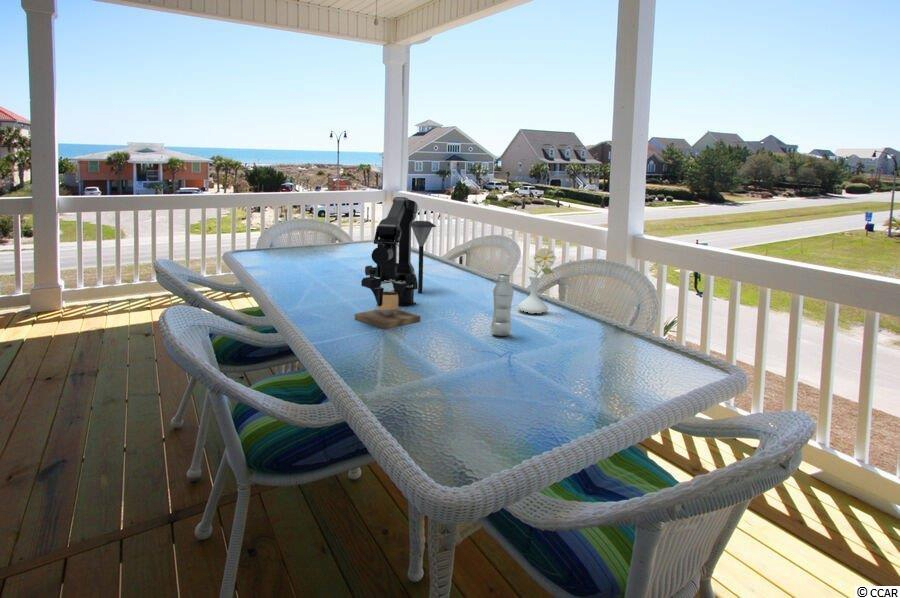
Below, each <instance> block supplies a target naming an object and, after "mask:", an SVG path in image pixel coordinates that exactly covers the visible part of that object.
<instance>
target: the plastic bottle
mask: <svg viewBox="0 0 900 598" xmlns="http://www.w3.org/2000/svg"><path fill="white" fill-rule="evenodd" d="M510 281H511V274H507V273H499V274H498V275H497V284H495V286H494V287H493V290H492V291H493V292H492V295H493V312H492V313H493V315H492V320H491V325H490V332H491V334H492V335H493V336H498V337H506V336H509V335H510V334H511V331H512V321H511V319H512V318H511V317H512V316H511V315H512V314H511V311H512V309H511V308H512V302H513V299H514V298H513V297H514V293H515V291H514V288H513V286H512V284H511V283H510Z"/></svg>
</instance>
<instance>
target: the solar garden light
mask: <svg viewBox="0 0 900 598" xmlns="http://www.w3.org/2000/svg"><path fill="white" fill-rule="evenodd" d="M436 227H437V225H436V224H434V223H433V222H431V221H429V220H414V221H413V222H412V224H411V230H412V232H413V234H414V237H415V239H416V242H417V245H418V272H417V273H418V276H417V277H418V278H417V283H418V289H417V293H418V294H423V285H424V284H423V283H424V282H423V281H424V276H423V275H424V246H425V243H426V242H427V239H428V237H429V235H430V233H431V231H432V229H433V228H436Z"/></svg>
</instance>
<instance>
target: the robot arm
mask: <svg viewBox="0 0 900 598" xmlns="http://www.w3.org/2000/svg"><path fill="white" fill-rule="evenodd" d="M418 207H419V206H418V204H417V202H416V201H414V200H411V199H409V198H408V197H405V196H395V197H393V200H392V204H391V207H390V209H389V212H388V213H387V216H386V218H383V219H381V220H380V221H379V223H378V225H376V229H375V234H374V238H373V245H377V247H376V248H374V249H373V251H372V252H371V260H372V261H373V263H375V264H376V266H375V267H373V266H372V265H366V266H365V267H364V274H365V276H366V277H363V278H362V279H361V281H360V282H361V287H364V288H367V289H369V290H370V291H371V292H372V294H373V296H374V298H375V301H376V306H377V305H378V306H381V303H382V297H383V291H385V290H384V287H382V284H389V283H391V284H392V289H393V292H397V293H398V306H402V307H407V306H412V305H416V304H417V302H416V301H415V299H414V298H415V297H414V296H415V292H414V291H415V290H418V278H417V274H415V267H414V266H413V265H412V263H411V262H412V261H411V259H412V257H411V255H412V253H411V252H412V251H411V249H412V227H411V224H412V222H414V221H415V219H416V217H417V213H418V209H419V208H418ZM397 248H398V249H397ZM397 252H398V253H397ZM397 254H398V255H397ZM397 256H398V257H397ZM397 259H398V260H397Z"/></svg>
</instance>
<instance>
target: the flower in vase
mask: <svg viewBox="0 0 900 598" xmlns="http://www.w3.org/2000/svg"><path fill="white" fill-rule="evenodd" d="M532 259H533V260H534V262H535V265H537V266H539V267H541V268H540V270H539V272H538V271H537V270H535V269H533V268H531V267H530V266H528V268H529V270H531V271H532V272H535V273H536V274H531V275H527V276H528V279H529V280H530V287H531V288H530V293H529V296H528V297H526V298H525V299H523V300H522V301H521V302H520V303H519V304H518V305H517V309H518V310H519V311H521V312H523V311H524V312H523V313H526V312H528V313H527V314H534V313H537V314H543V313H542V312H544V313H546V312H548V310H549V307H548V305H547V304H546V303H545V302H544V301H543V300H542V299H540V297H539V296H538V286H539V282H540V280H541V279H542V276H541V275H539V274H540V273H541V272H542V273H543V274H544V275H551V274H553V273H554V272H553V270H552V269H550V267H552V266H554V263H555V261H556V259H557V258H556V255H555V253H554V250H553V249H550V248H549V247H545V246H544V247H540V248H539V249H536V251H535V253H534V256H533V258H532Z"/></svg>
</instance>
